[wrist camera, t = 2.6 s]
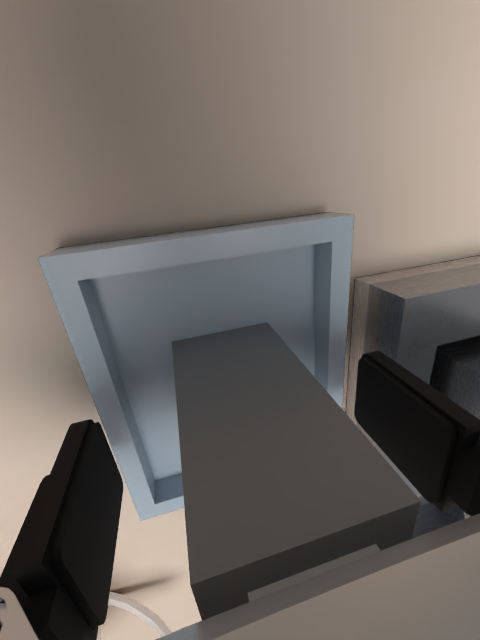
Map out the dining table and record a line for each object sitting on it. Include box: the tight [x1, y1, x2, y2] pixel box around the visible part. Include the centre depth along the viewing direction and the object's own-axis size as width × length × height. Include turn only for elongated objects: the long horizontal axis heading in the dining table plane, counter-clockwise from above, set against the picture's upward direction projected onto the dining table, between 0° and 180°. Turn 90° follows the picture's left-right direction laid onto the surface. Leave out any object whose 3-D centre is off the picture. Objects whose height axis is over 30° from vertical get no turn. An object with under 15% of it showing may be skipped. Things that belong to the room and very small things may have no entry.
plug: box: [172, 322, 421, 621], centre depth 9 cm, size 4×4×8 cm
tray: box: [38, 212, 354, 521], centre depth 12 cm, size 12×10×2 cm
